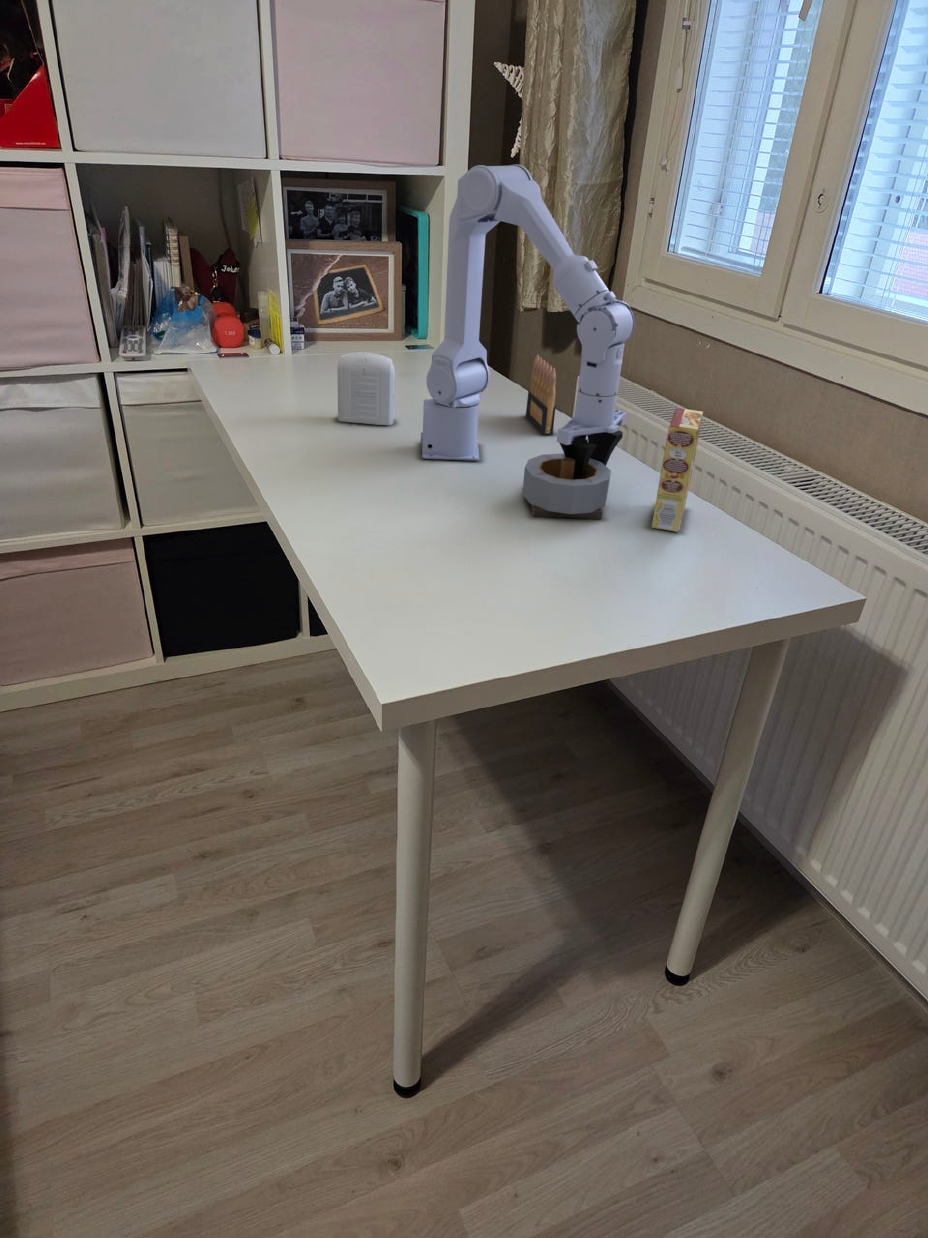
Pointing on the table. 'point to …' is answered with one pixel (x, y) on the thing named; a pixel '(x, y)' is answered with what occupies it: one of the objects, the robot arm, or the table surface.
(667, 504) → the candy box
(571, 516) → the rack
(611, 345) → the robot arm
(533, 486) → the tape roll
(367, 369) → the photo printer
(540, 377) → the ammunition clip
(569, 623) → the table surface
